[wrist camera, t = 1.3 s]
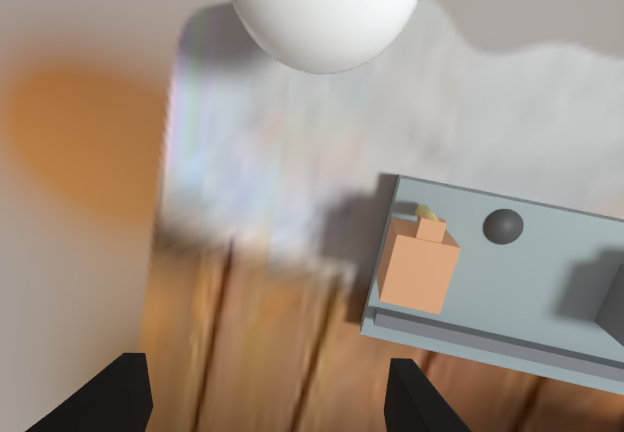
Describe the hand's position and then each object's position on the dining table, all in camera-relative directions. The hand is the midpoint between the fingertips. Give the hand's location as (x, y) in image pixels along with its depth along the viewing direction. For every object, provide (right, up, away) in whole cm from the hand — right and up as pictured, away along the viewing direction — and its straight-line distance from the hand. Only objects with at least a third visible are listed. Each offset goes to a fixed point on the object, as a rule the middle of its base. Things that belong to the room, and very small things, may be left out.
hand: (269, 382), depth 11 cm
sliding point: (+7, +3, +9) cm, 12 cm away
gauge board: (+13, +1, +11) cm, 17 cm away
